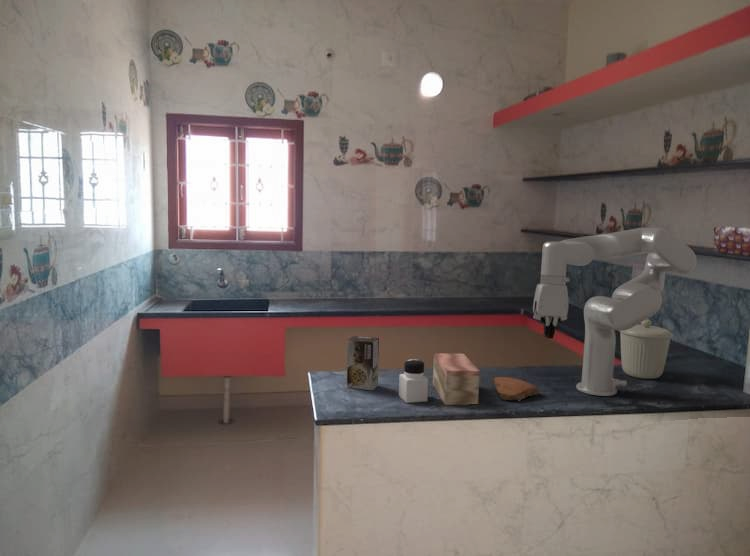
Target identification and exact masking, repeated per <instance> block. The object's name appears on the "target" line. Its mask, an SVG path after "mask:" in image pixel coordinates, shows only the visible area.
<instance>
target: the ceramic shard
mask: <svg viewBox="0 0 750 556" xmlns="http://www.w3.org/2000/svg"><path fill="white" fill-rule="evenodd" d="M493 382H494V390H495V391H496V392H497V394H498V396H499V397H500V400H502V399H505V400H504V401H506V400H522V399H523V400H525V399H526V398H528V396H531V397H533V396H532V395H535V394H538V395H539V393H540V389H539V387H538V386H537V385H535V384H532V383H531V382H527V381H525V380H521V379H518V378H514V377H508V376H507V377H505V376H504V377H503V376H498V377H497V376H495V377H494V379H493ZM535 396H536V395H535ZM523 400H522V401H523Z"/></svg>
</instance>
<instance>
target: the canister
mask: <svg viewBox="0 0 750 556" xmlns="http://www.w3.org/2000/svg"><path fill="white" fill-rule="evenodd" d="M619 333H620V335H619V336H620V359H621V361H620V362H621V368H622V371H623V372H624V374H626V375H628V376H630V377H633V378H636V379H637V378H639V379H645V380H651V379H653V380H654V379H659V378H660V377H661V376H662V375H663V373H664V369H665V365H666V360H667V359H668V357H667V356H668V353H669V348H670V343H671V339H672V338H673V337H674V334H673V333H672V332H670V331H669V330H668V329H666V328H662V327H660V326H655V325H652V320H650V319H649V318H648V319H646V320H644V321H643V322H641V323H640V324H637V325H636V326H634V327H632V328H630V329H628V330H624V331H619Z"/></svg>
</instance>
